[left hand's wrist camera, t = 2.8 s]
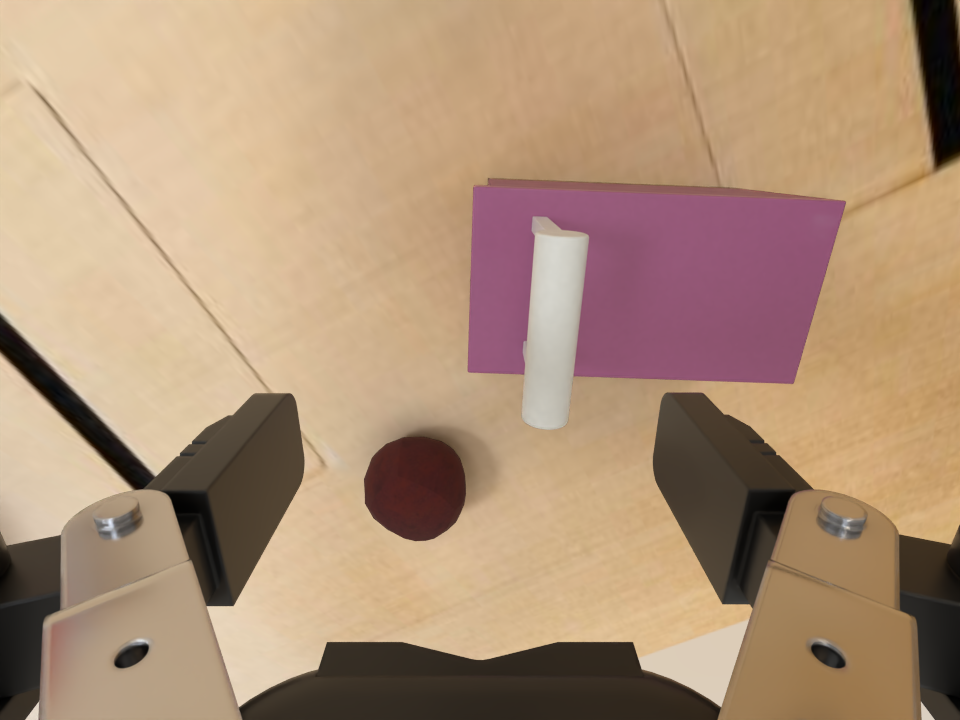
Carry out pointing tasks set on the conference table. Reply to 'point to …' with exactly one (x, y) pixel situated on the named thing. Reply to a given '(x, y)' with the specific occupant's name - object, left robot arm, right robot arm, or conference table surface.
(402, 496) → the potato
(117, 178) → the conference table surface
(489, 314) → the lid
